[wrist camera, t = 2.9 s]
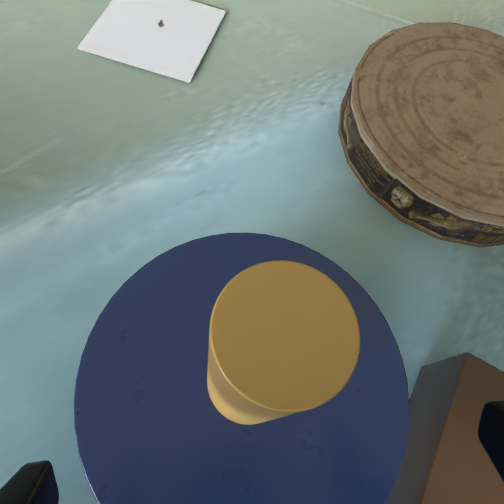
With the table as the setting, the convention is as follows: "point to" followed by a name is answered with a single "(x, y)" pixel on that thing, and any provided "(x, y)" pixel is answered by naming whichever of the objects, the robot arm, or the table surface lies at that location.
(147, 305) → the lid
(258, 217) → the table surface
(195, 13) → the coaster
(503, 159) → the brown flat disc
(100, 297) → the table surface
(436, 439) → the block
